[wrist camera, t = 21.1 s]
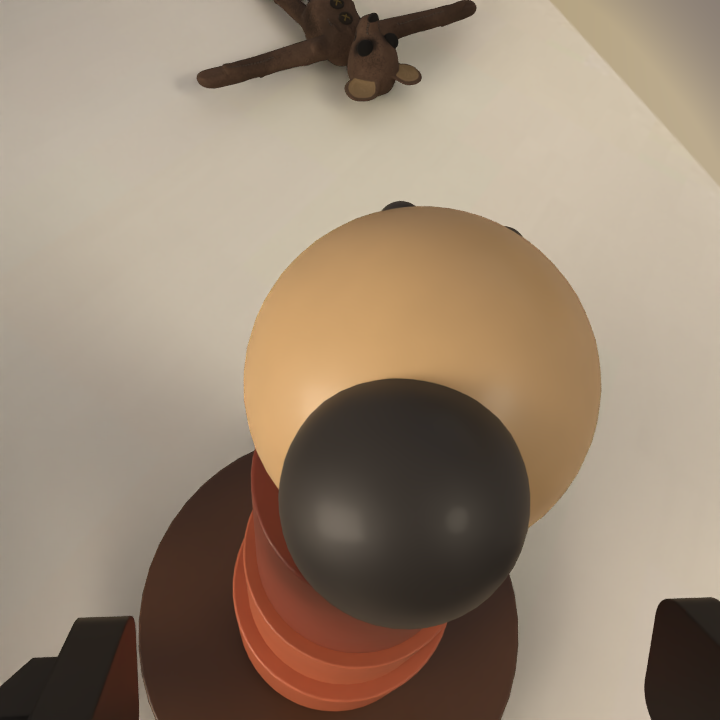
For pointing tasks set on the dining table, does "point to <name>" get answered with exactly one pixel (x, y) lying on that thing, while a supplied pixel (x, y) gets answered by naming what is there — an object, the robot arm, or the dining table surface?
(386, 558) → the doll
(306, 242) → the dining table surface
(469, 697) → the doll stand
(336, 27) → the bear figurine
